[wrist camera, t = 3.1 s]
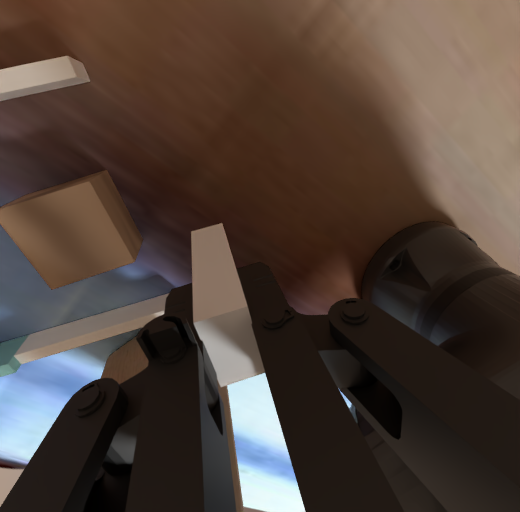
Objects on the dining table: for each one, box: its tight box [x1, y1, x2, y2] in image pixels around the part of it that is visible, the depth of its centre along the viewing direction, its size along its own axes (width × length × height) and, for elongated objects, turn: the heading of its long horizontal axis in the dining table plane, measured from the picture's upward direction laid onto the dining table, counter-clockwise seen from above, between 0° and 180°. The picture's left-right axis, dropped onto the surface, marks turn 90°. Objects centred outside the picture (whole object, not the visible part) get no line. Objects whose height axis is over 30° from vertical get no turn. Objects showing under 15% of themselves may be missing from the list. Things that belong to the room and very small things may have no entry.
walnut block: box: [0, 170, 143, 290], centre depth 24 cm, size 7×7×5 cm
